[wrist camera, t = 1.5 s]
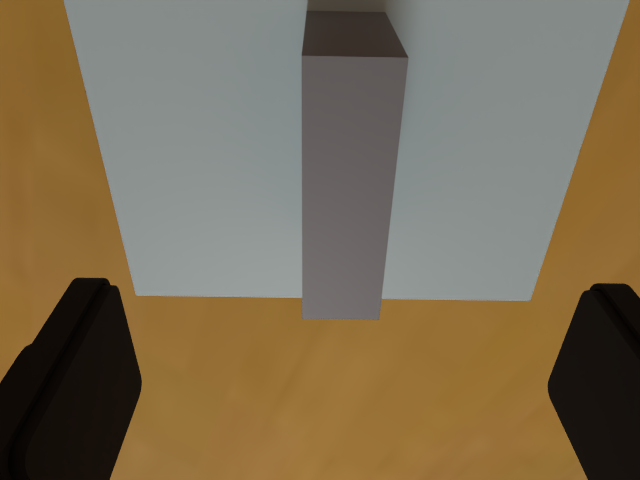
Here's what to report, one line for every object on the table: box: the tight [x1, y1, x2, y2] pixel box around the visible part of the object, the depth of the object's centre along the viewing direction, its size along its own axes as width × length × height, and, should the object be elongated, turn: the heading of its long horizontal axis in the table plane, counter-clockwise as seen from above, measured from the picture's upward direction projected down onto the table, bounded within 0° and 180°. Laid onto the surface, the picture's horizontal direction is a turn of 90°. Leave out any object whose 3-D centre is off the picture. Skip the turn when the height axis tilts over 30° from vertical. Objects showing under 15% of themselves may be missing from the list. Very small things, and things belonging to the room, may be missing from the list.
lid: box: [64, 0, 630, 320], centre depth 17 cm, size 15×17×7 cm
